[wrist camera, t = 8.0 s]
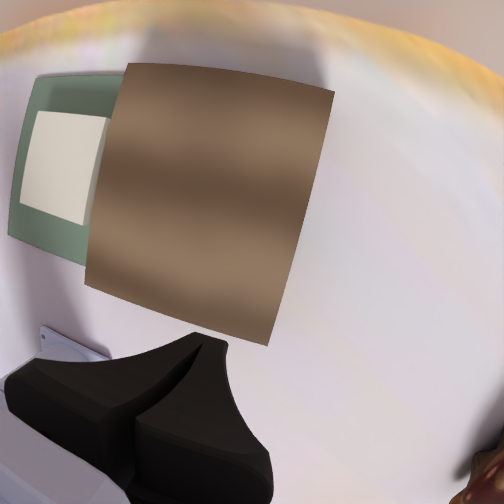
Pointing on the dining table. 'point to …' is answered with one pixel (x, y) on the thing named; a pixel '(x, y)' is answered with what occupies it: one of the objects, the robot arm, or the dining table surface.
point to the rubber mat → (42, 99)
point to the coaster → (64, 164)
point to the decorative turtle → (485, 478)
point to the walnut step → (205, 193)
